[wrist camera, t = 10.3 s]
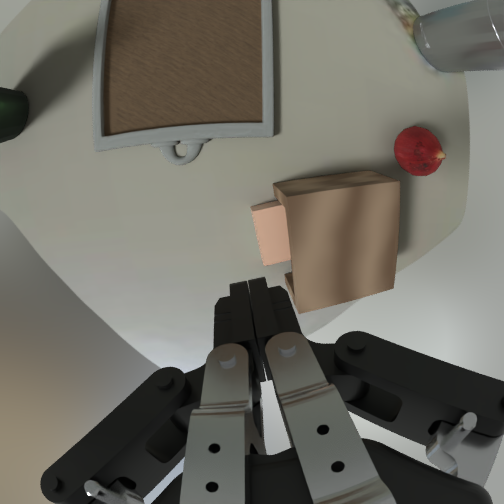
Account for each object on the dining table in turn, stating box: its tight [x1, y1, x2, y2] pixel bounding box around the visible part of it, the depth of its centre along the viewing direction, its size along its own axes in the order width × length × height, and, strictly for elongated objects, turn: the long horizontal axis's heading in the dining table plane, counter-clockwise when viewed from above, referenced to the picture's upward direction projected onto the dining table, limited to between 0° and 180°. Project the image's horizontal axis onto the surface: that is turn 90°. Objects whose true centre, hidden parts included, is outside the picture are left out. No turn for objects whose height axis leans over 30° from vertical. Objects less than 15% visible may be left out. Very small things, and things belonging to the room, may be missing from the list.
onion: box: [394, 126, 446, 176], centre depth 25 cm, size 6×6×8 cm
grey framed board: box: [92, 0, 274, 165], centre depth 21 cm, size 19×2×30 cm
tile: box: [250, 200, 291, 266], centre depth 31 cm, size 13×6×2 cm, turn 102°
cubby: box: [273, 171, 400, 314], centre depth 29 cm, size 12×13×6 cm
